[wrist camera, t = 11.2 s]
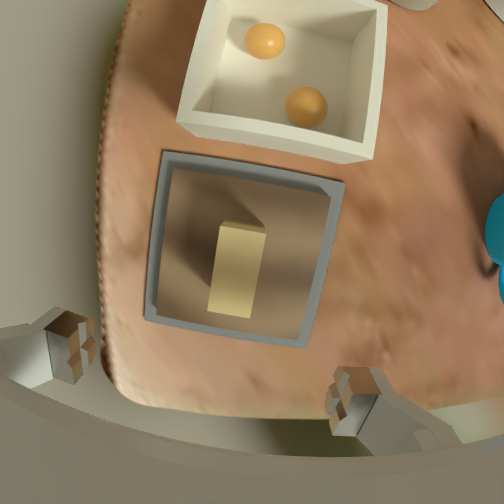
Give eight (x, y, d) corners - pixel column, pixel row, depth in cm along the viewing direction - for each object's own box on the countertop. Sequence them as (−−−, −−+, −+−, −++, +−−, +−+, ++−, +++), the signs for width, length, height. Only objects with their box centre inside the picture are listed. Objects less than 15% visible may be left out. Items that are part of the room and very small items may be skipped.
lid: (176, 168, 24) (158, 166, 19) (328, 195, 25) (345, 199, 20) (159, 310, 27) (141, 336, 22) (296, 334, 27) (303, 365, 22)
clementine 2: (286, 89, 22) (291, 76, 19) (325, 98, 22) (335, 87, 19) (279, 126, 23) (283, 118, 20) (319, 134, 23) (328, 128, 20)
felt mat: (164, 151, 24) (163, 151, 24) (344, 183, 25) (345, 183, 24) (145, 318, 27) (144, 320, 27) (305, 347, 28) (305, 348, 28)
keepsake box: (225, 14, 21) (216, -30, 14) (359, 40, 22) (387, 5, 15) (196, 137, 24) (175, 121, 17) (342, 164, 24) (372, 159, 17)
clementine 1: (248, 30, 21) (247, 13, 18) (286, 36, 21) (290, 19, 18) (241, 61, 22) (239, 46, 19) (280, 68, 22) (283, 53, 19)
